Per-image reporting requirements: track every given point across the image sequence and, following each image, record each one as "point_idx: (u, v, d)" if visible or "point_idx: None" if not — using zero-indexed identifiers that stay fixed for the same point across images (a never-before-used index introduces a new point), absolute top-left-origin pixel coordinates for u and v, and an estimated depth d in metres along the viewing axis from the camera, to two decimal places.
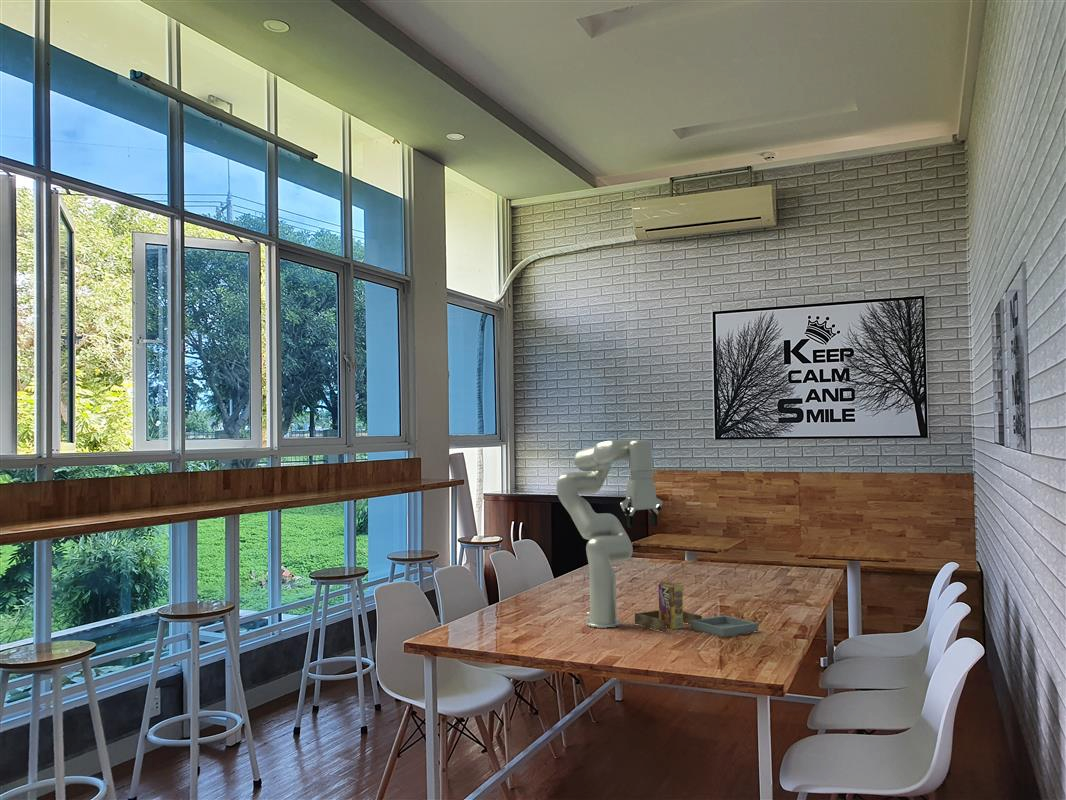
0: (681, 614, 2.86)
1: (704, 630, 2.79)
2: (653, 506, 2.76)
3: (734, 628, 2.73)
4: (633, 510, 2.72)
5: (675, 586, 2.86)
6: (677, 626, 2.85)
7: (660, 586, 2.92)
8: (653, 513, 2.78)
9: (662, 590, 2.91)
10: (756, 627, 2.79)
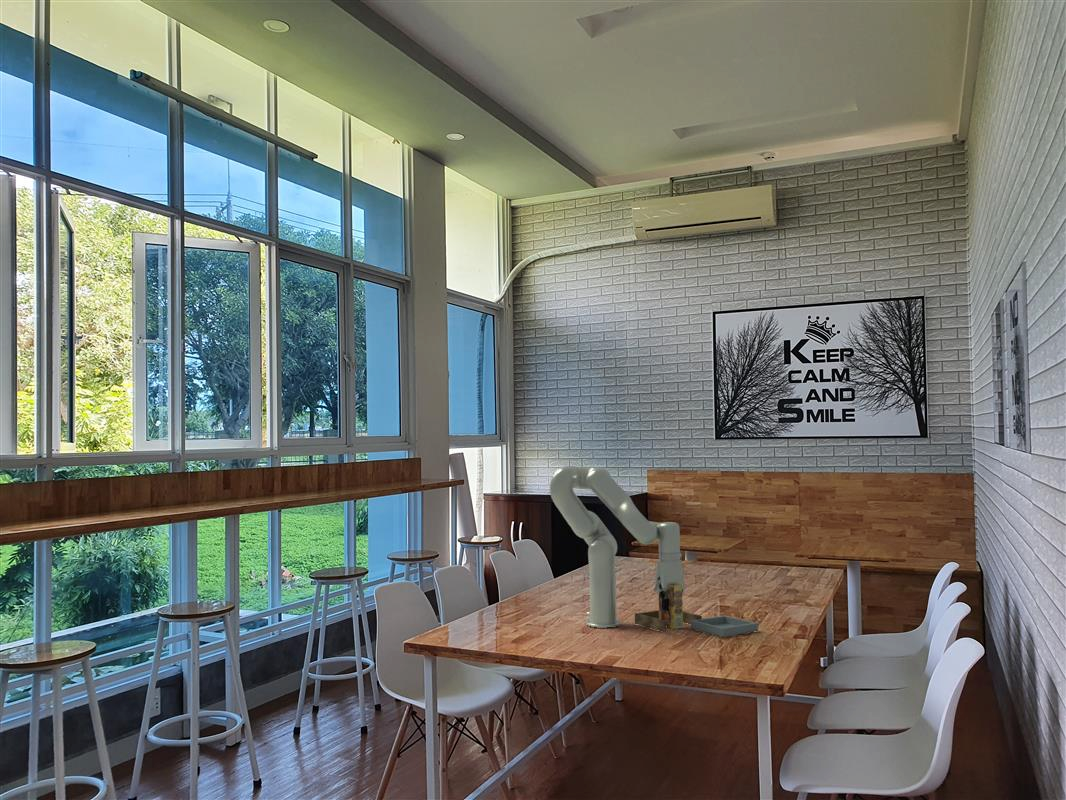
0: (681, 614, 2.86)
1: (704, 630, 2.79)
2: None
3: (734, 628, 2.73)
4: (666, 593, 2.87)
5: (675, 586, 2.86)
6: (677, 626, 2.85)
7: None
8: None
9: None
10: (756, 627, 2.79)
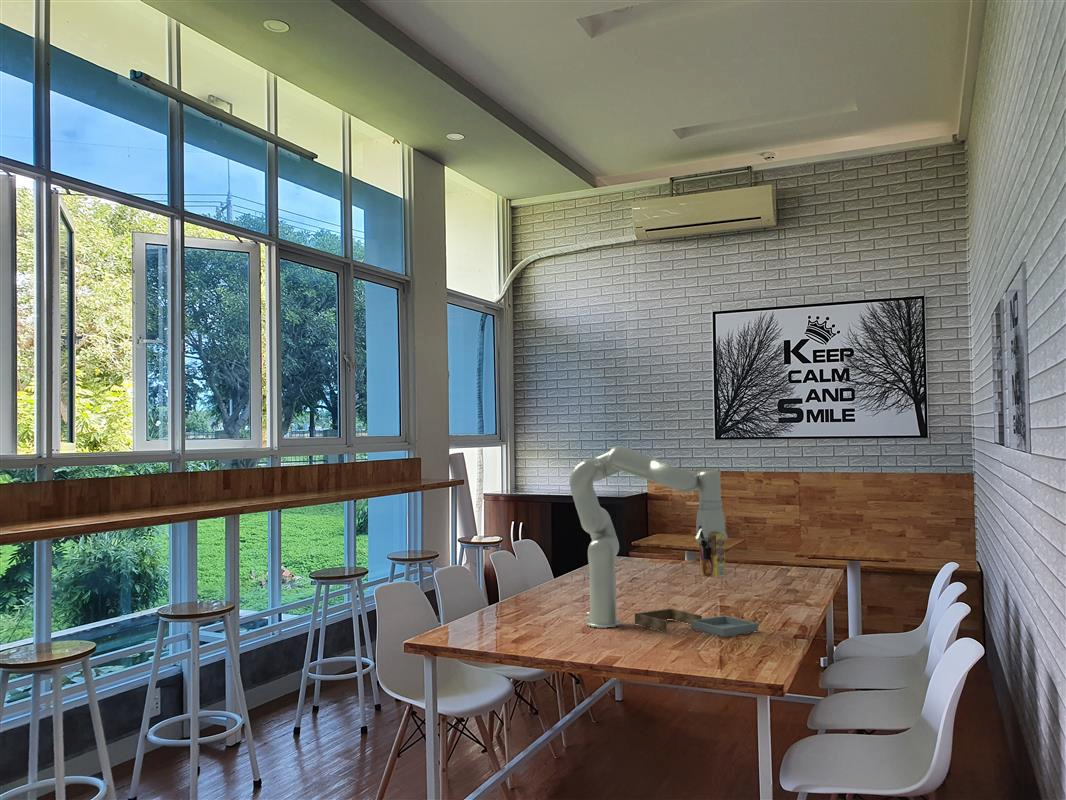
0: (723, 563, 2.81)
1: (704, 630, 2.79)
2: None
3: (734, 628, 2.73)
4: (708, 541, 2.82)
5: (717, 534, 2.81)
6: (720, 575, 2.80)
7: None
8: None
9: None
10: (756, 627, 2.79)
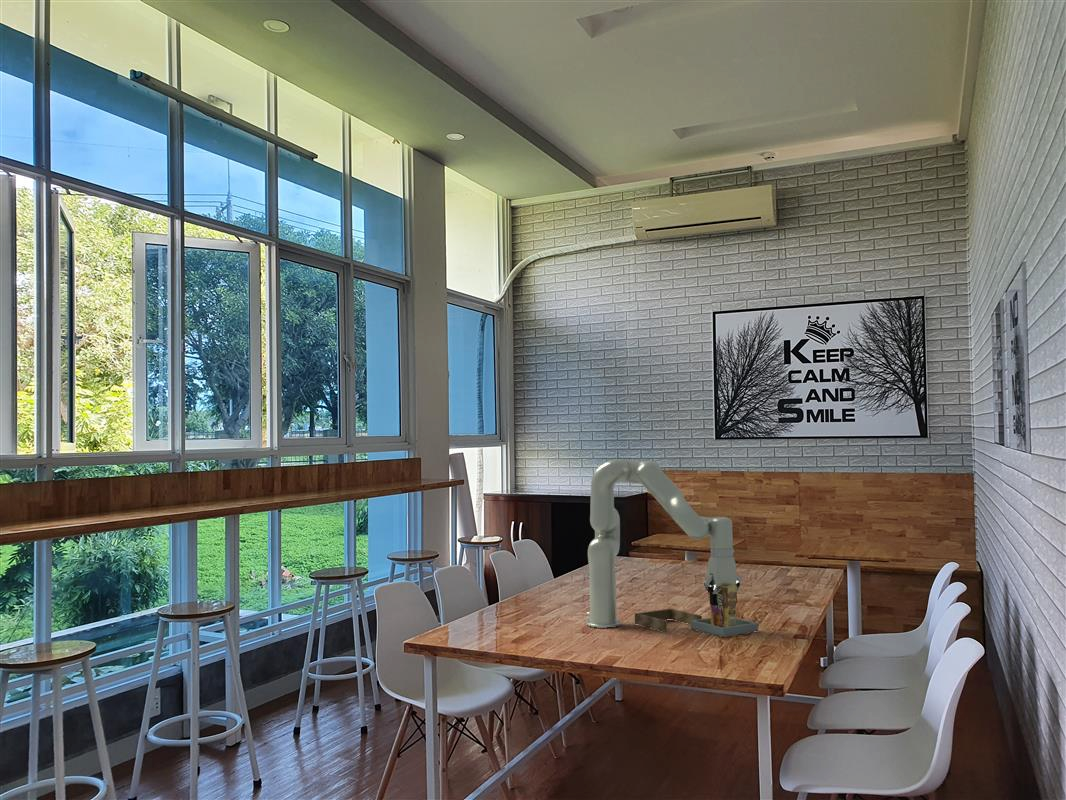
0: (735, 615, 2.79)
1: (704, 630, 2.79)
2: (734, 583, 2.83)
3: (734, 628, 2.73)
4: (716, 588, 2.79)
5: (728, 587, 2.79)
6: None
7: None
8: None
9: None
10: (756, 627, 2.79)
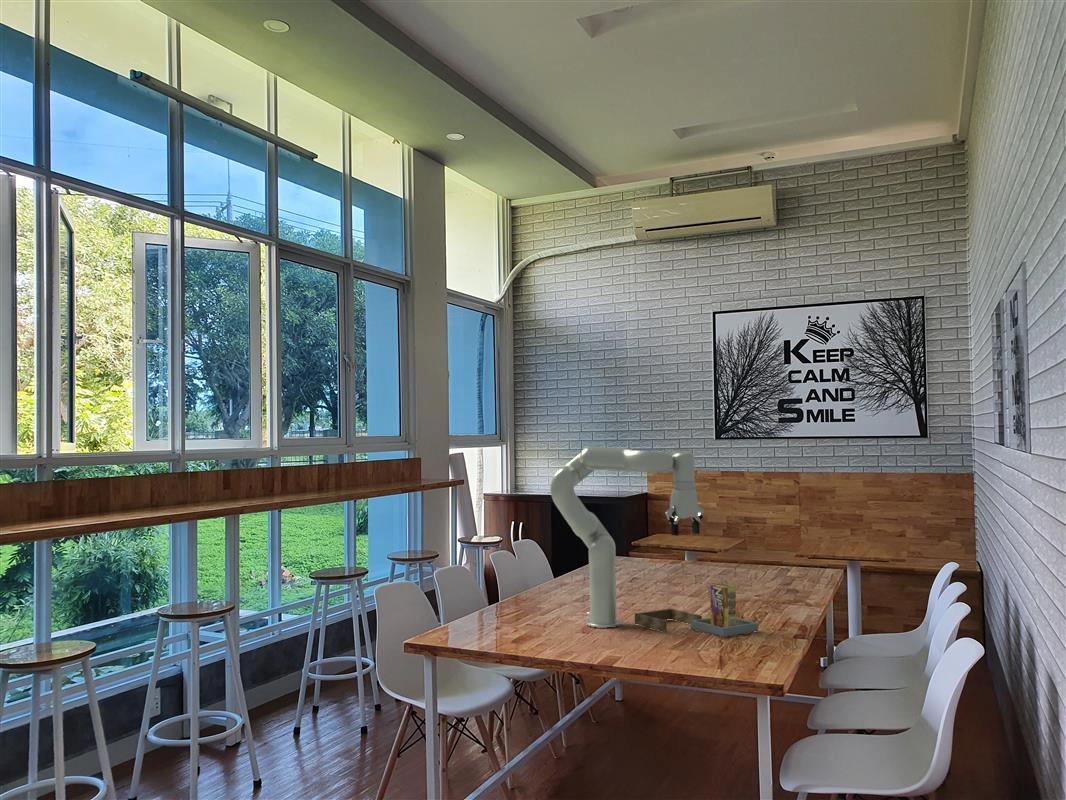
0: (735, 615, 2.79)
1: (704, 630, 2.79)
2: (696, 515, 2.93)
3: (734, 628, 2.73)
4: (677, 519, 2.89)
5: (728, 587, 2.79)
6: None
7: (712, 587, 2.84)
8: (695, 521, 2.95)
9: (714, 591, 2.84)
10: (756, 627, 2.79)
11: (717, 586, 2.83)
